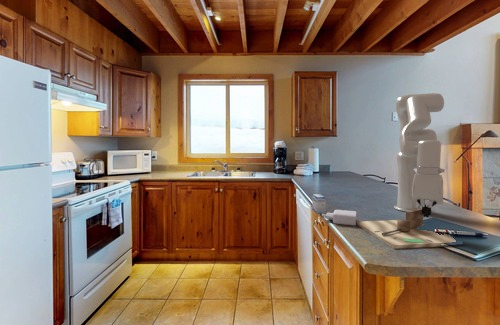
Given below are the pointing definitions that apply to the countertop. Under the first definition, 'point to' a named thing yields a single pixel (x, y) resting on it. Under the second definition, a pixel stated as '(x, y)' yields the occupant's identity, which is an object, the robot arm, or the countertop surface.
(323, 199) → the medicine box
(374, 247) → the countertop surface
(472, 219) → the countertop surface
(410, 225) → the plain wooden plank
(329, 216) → the charger
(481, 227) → the countertop surface
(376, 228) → the board
